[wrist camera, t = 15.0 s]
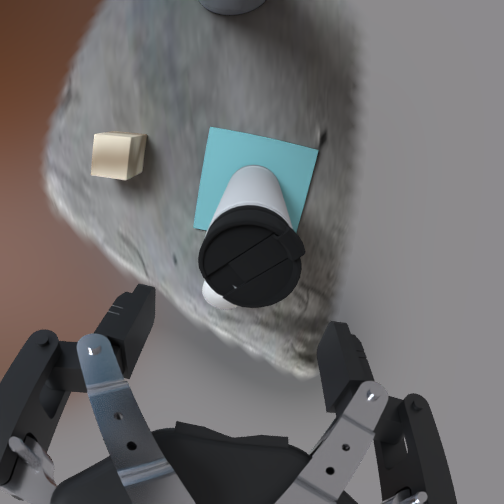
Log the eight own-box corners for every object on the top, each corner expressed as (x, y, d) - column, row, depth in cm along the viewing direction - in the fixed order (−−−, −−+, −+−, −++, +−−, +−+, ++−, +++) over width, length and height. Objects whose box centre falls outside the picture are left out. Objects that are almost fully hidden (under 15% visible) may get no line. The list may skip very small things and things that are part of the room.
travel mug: (292, 193, 35) (327, 280, 17) (248, 223, 36) (238, 331, 19) (261, 152, 33) (266, 195, 15) (217, 184, 34) (172, 262, 16)
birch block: (113, 131, 32) (94, 134, 28) (147, 134, 32) (131, 137, 28) (109, 167, 34) (91, 175, 30) (142, 172, 35) (126, 180, 30)
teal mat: (211, 127, 32) (210, 127, 31) (317, 150, 33) (318, 150, 32) (194, 226, 38) (193, 227, 37) (291, 246, 38) (291, 247, 38)
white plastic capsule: (214, 244, 39) (205, 269, 32) (251, 251, 39) (249, 278, 33) (209, 276, 41) (200, 305, 34) (244, 282, 41) (240, 313, 35)
